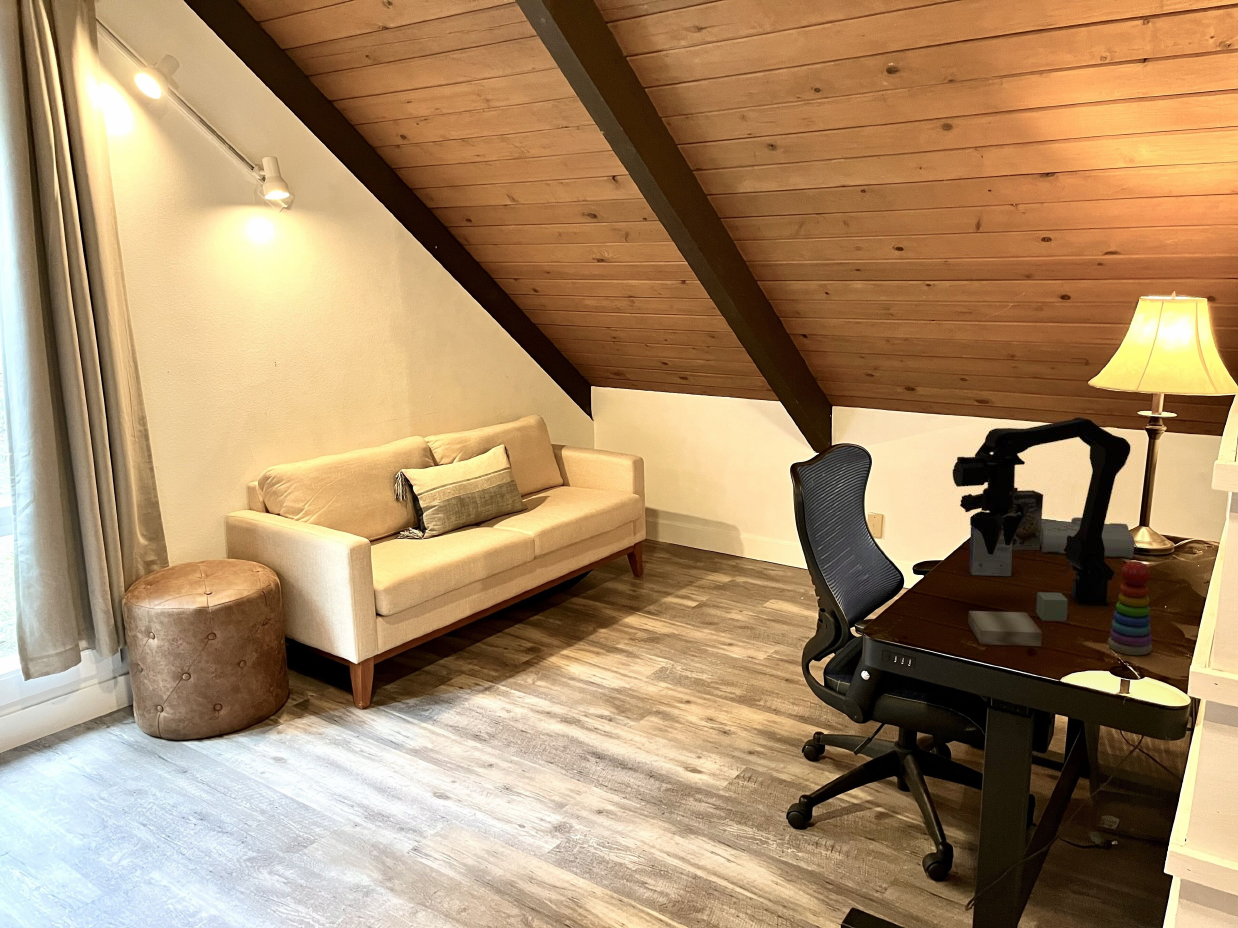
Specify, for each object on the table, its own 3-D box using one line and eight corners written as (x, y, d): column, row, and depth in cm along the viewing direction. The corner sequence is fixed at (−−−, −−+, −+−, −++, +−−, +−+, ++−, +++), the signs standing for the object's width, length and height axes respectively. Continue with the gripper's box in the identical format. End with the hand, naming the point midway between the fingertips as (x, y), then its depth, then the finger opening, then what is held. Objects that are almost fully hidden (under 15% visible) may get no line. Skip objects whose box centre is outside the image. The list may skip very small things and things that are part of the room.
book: (1155, 563, 243) (1157, 535, 242) (1040, 555, 253) (1041, 528, 252) (1144, 545, 261) (1146, 519, 259) (1036, 538, 271) (1037, 513, 270)
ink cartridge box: (1007, 570, 240) (1010, 517, 237) (1012, 577, 234) (1015, 522, 232) (968, 569, 242) (970, 516, 239) (971, 575, 236) (973, 521, 234)
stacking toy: (1099, 642, 190) (1105, 556, 187) (1135, 640, 191) (1142, 554, 188) (1122, 657, 183) (1129, 567, 179) (1160, 655, 183) (1168, 565, 180)
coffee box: (1008, 551, 257) (1011, 495, 254) (999, 544, 263) (1001, 490, 260) (1040, 550, 257) (1044, 494, 254) (1030, 543, 263) (1033, 489, 260)
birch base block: (1025, 625, 201) (1026, 612, 201) (1041, 646, 190) (1041, 632, 189) (968, 623, 203) (968, 610, 203) (980, 644, 192) (981, 630, 191)
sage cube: (1059, 613, 208) (1060, 592, 207) (1066, 621, 203) (1067, 600, 202) (1036, 613, 209) (1037, 592, 208) (1042, 620, 204) (1043, 599, 203)
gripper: (984, 473, 222) (982, 535, 225) (948, 487, 209) (947, 553, 212) (1030, 478, 214) (1028, 542, 217) (996, 493, 201) (995, 561, 204)
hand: (999, 549), depth 213 cm, fingers open, 9 cm apart
